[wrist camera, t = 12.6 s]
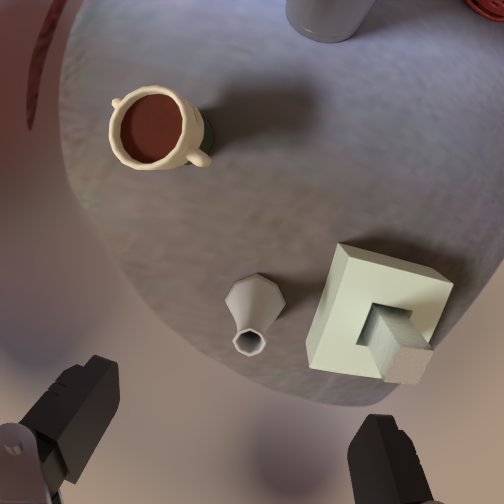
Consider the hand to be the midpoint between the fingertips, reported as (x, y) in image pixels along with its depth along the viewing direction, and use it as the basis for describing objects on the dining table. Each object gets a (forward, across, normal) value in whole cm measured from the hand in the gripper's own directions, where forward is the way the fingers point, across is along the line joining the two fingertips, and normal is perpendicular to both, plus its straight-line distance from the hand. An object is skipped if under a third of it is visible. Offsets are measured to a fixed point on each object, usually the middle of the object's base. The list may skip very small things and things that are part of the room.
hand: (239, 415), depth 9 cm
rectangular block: (+29, -16, +7) cm, 34 cm away
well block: (+29, -16, +7) cm, 34 cm away
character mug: (+30, +11, -8) cm, 33 cm away
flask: (+30, -1, +10) cm, 31 cm away
